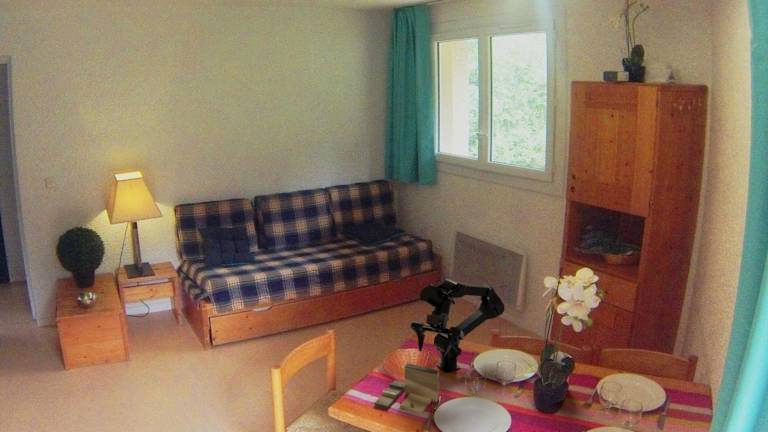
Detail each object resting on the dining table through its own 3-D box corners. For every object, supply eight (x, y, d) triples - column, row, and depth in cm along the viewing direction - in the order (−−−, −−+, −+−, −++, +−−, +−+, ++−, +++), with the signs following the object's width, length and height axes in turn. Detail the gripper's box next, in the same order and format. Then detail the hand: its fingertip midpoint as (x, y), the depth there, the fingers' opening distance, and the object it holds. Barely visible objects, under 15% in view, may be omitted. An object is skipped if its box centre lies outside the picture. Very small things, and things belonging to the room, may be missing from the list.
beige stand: (407, 391, 215) (407, 363, 212) (439, 399, 210) (439, 370, 207) (394, 406, 206) (394, 377, 203) (427, 415, 201) (427, 385, 198)
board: (394, 383, 221) (394, 377, 220) (407, 386, 219) (407, 380, 218) (374, 405, 207) (374, 400, 206) (387, 409, 205) (387, 403, 204)
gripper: (411, 300, 219) (400, 342, 212) (461, 307, 211) (451, 350, 205) (419, 311, 228) (410, 351, 221) (467, 318, 220) (459, 360, 214)
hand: (432, 353), depth 215 cm, fingers open, 9 cm apart
